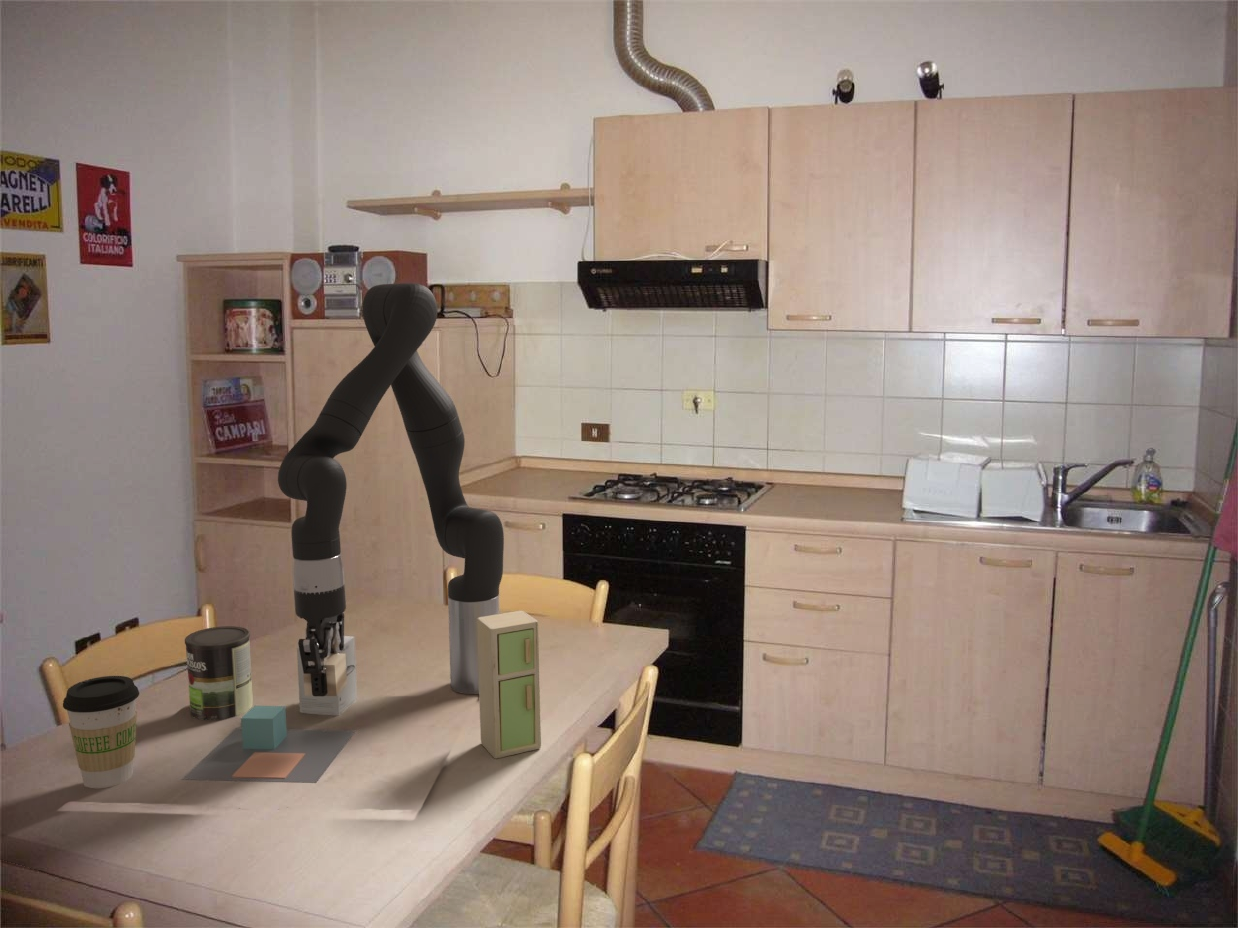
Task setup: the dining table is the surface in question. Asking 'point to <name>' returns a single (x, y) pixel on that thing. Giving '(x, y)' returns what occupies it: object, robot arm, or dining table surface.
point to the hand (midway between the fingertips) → (326, 687)
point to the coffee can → (219, 672)
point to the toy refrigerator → (509, 683)
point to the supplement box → (331, 703)
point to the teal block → (264, 727)
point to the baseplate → (273, 758)
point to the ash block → (331, 675)
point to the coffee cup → (103, 728)
